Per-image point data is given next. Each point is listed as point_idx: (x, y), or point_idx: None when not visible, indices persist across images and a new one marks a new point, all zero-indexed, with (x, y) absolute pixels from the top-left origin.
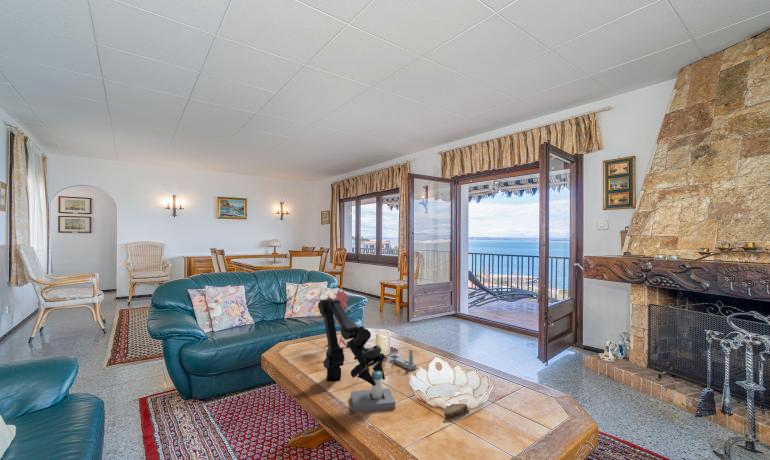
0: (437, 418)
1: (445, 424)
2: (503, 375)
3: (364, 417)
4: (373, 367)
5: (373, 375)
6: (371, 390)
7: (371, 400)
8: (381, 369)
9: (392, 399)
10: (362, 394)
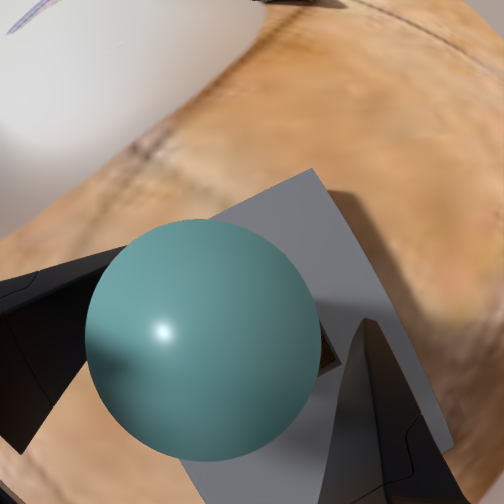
0: (325, 20)
1: (353, 4)
2: (31, 11)
3: (474, 343)
4: (6, 440)
5: (307, 393)
6: None
7: (344, 360)
8: (34, 289)
9: (276, 197)
10: (259, 465)
